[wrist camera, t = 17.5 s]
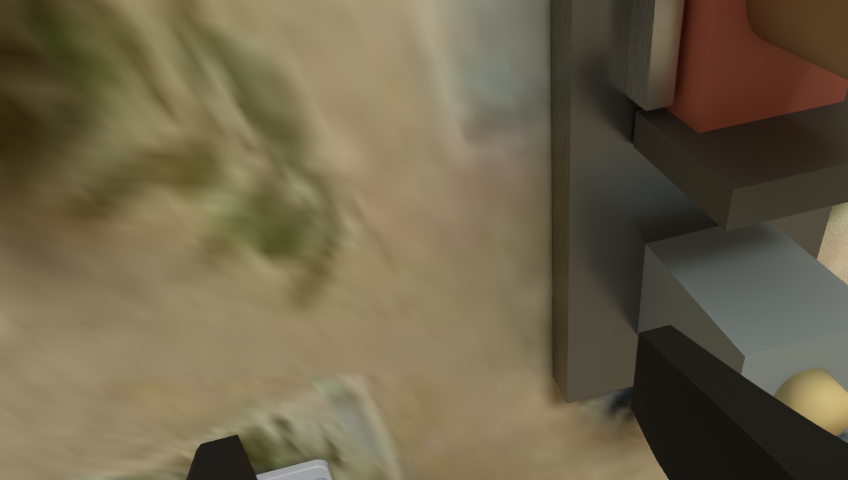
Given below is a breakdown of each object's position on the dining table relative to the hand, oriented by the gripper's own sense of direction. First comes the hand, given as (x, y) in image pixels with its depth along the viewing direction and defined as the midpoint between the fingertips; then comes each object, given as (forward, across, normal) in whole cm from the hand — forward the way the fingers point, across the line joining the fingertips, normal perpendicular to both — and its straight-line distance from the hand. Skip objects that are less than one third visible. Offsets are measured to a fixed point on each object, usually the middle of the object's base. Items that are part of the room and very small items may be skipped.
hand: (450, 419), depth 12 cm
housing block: (+9, -11, +7) cm, 16 cm away
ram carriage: (+9, -11, -2) cm, 14 cm away
